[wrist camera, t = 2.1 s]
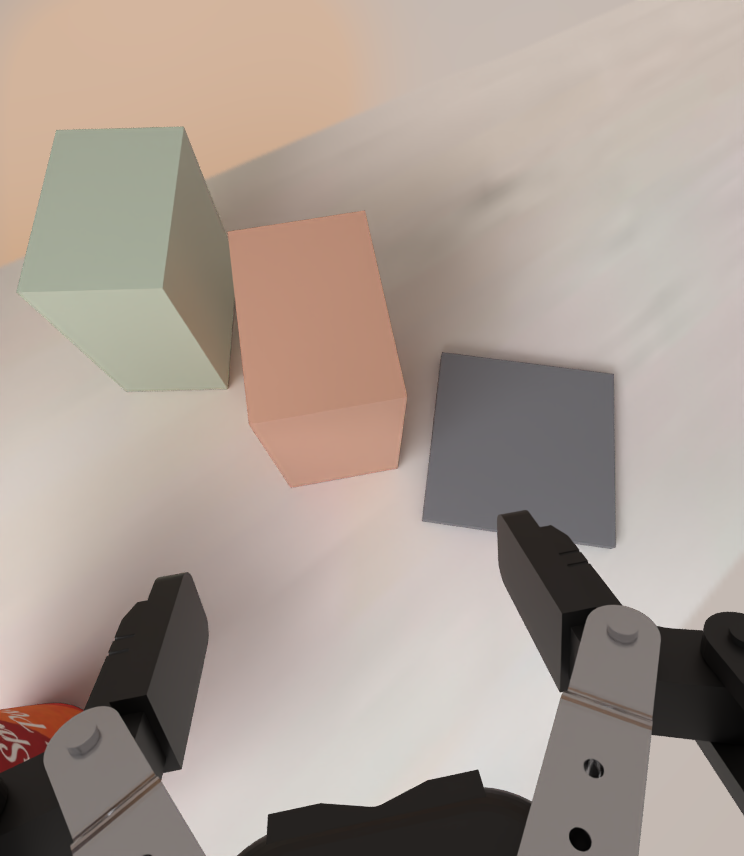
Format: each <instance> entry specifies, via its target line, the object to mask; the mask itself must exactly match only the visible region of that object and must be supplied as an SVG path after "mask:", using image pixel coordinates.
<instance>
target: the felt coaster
mask: <svg viewBox="0 0 744 856" xmlns="http://www.w3.org/2000/svg"><path fill="white" fill-rule="evenodd" d="M522 510H527V511H529V513H530V514H531V515H532V517H533V518H534V519H535V521H536V522H537V524H538V525H539V527H543V526H549V525H552V526H554V527H555V528H557V529H558V530H560V531H562V532H563V533H565V534H566V535H568V536H569V537H570V539H571V540H572V541H573V542H574V543H575V544H582V545H588V546H595V547H602V548H609V549H612V548H615V547H616V534H615V446H614V374H609V373H601V372H593V371H585V370H577V369H569V368H562V367H554V366H546V365H538V364H530V363H522V362H514V361H507V360H499V359H491V358H483V357H475V356H467V355H460V354H452V353H444V352H442V355H441V362H440V371H439V379H438V388H437V396H436V405H435V414H434V422H433V431H432V440H431V448H430V457H429V465H428V474H427V483H426V491H425V500H424V509H423V517H422V521H425V522H432V523H439V524H445V525H452V526H459V527H466V528H473V529H479V530H486V531H493V532H497V517H498V515H500V514H506V513H511V512H516V511H522Z"/></svg>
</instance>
